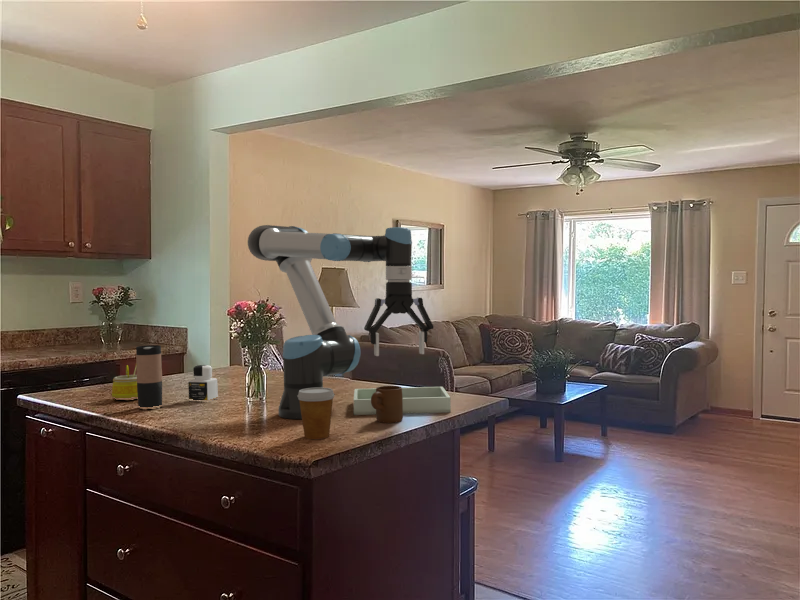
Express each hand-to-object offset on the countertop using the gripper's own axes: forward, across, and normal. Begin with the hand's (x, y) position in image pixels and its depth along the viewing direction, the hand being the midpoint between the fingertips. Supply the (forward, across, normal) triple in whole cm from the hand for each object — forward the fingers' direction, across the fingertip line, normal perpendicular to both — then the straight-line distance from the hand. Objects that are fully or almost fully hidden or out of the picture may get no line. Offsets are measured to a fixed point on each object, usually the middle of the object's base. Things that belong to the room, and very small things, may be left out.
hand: (399, 354), depth 188 cm
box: (+18, +5, +15) cm, 24 cm away
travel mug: (+20, -71, +43) cm, 86 cm away
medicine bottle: (+20, -55, +52) cm, 78 cm away
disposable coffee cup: (+18, -27, -15) cm, 36 cm away
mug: (+18, -6, -4) cm, 20 cm away
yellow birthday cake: (+20, -80, +65) cm, 104 cm away
